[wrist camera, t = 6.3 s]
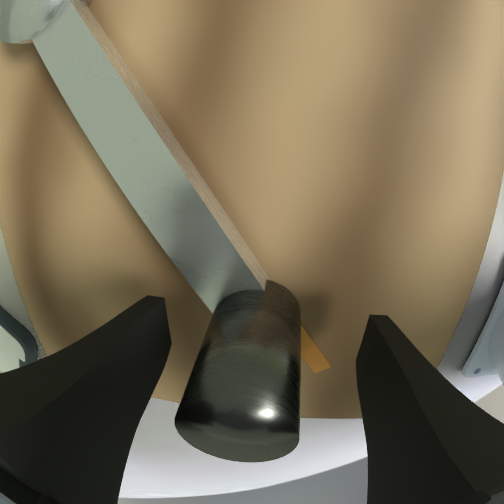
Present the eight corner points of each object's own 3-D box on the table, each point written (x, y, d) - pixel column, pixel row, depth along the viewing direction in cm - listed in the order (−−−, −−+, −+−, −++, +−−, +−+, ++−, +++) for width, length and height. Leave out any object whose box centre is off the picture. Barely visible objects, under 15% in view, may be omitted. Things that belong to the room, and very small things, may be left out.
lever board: (482, -20, 6) (500, -30, 4) (404, 396, 16) (409, 417, 14) (13, 3, 8) (-7, 0, 7) (63, 353, 18) (51, 368, 16)
